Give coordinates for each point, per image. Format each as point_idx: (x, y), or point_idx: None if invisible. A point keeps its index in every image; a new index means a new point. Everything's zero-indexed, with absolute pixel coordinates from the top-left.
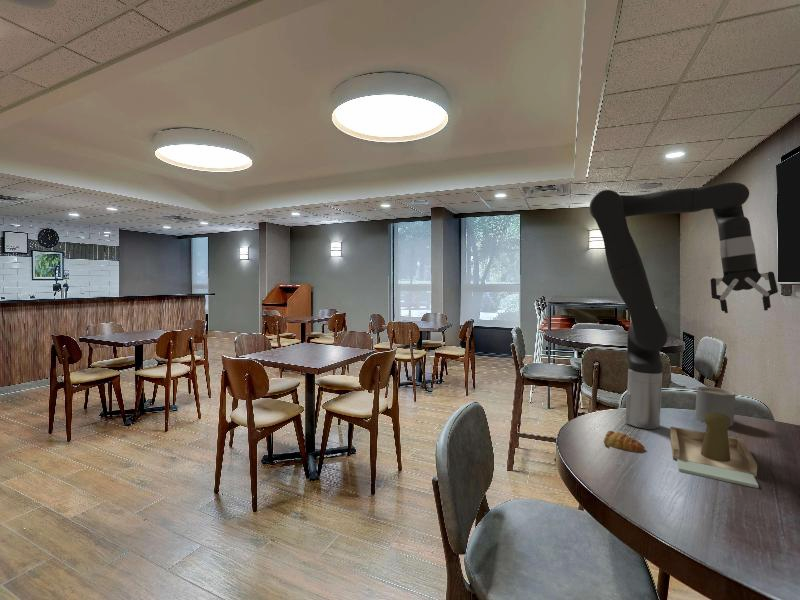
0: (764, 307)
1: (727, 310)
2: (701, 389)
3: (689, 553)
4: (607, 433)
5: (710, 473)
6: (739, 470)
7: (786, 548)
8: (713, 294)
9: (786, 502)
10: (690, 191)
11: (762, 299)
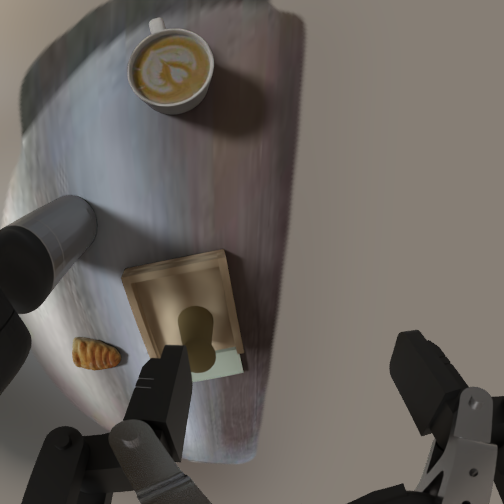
0: (396, 382)
1: (190, 397)
2: (138, 51)
3: (208, 461)
4: (75, 364)
5: (199, 377)
6: (225, 346)
7: (256, 431)
8: (89, 499)
9: (264, 372)
10: None
11: (435, 378)
